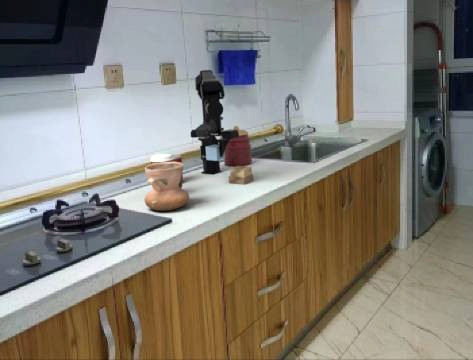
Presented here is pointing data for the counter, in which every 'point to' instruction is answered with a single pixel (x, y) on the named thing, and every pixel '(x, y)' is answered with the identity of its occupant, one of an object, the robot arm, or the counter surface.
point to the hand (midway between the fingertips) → (215, 156)
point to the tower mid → (241, 171)
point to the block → (213, 153)
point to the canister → (238, 150)
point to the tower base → (240, 180)
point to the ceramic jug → (165, 186)
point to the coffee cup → (161, 158)
